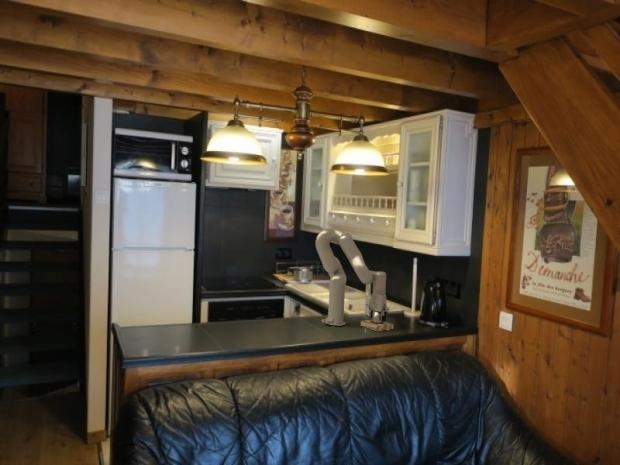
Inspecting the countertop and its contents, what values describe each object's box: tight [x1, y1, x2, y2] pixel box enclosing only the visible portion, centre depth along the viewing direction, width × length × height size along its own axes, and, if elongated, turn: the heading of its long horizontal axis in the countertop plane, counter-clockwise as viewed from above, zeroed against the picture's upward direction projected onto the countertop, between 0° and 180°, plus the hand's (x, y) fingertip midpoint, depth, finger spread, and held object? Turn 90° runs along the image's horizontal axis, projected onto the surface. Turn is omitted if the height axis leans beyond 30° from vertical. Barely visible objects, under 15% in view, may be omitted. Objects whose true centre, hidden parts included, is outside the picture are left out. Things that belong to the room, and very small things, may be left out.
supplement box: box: [364, 296, 371, 317], centre depth 333 cm, size 7×7×13 cm
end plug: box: [371, 309, 382, 324], centre depth 300 cm, size 7×7×12 cm
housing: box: [360, 319, 394, 332], centre depth 300 cm, size 14×14×4 cm
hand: (378, 319), depth 300 cm, fingers open, 9 cm apart
